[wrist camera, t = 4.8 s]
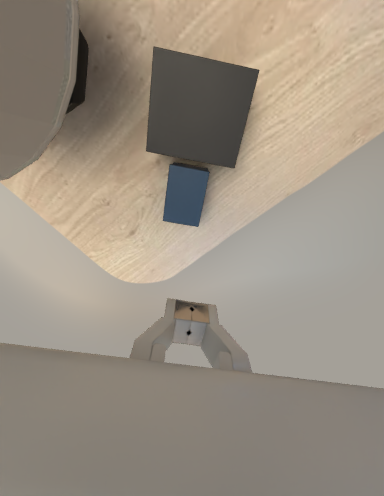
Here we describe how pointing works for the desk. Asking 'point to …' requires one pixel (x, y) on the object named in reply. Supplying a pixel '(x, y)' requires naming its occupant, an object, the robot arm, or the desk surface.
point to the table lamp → (37, 76)
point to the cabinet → (198, 107)
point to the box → (185, 193)
